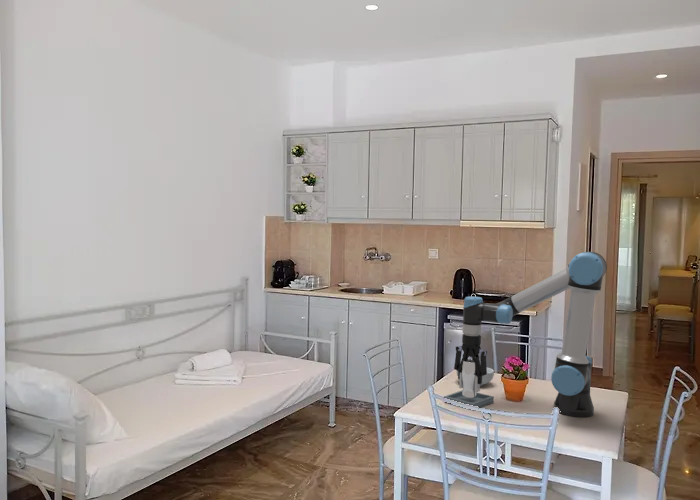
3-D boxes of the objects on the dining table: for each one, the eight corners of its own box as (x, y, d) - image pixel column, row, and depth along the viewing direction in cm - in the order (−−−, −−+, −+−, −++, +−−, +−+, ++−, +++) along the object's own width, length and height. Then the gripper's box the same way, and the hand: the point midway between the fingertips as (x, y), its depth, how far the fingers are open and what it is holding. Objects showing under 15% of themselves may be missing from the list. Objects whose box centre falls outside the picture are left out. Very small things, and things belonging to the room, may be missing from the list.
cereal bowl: (498, 383, 284) (499, 368, 284) (486, 391, 270) (486, 375, 270) (463, 377, 293) (464, 362, 293) (450, 384, 279) (451, 369, 279)
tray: (493, 402, 253) (493, 396, 253) (473, 410, 241) (473, 404, 241) (464, 395, 262) (464, 389, 262) (443, 402, 251) (443, 396, 251)
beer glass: (479, 399, 248) (480, 362, 248) (462, 398, 248) (463, 362, 248) (476, 394, 255) (477, 359, 255) (459, 393, 255) (460, 358, 255)
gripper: (497, 336, 247) (495, 392, 248) (456, 329, 260) (454, 383, 261) (488, 339, 241) (485, 396, 242) (446, 331, 254) (444, 386, 255)
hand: (469, 389), depth 252 cm, fingers closed on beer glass, 7 cm apart
